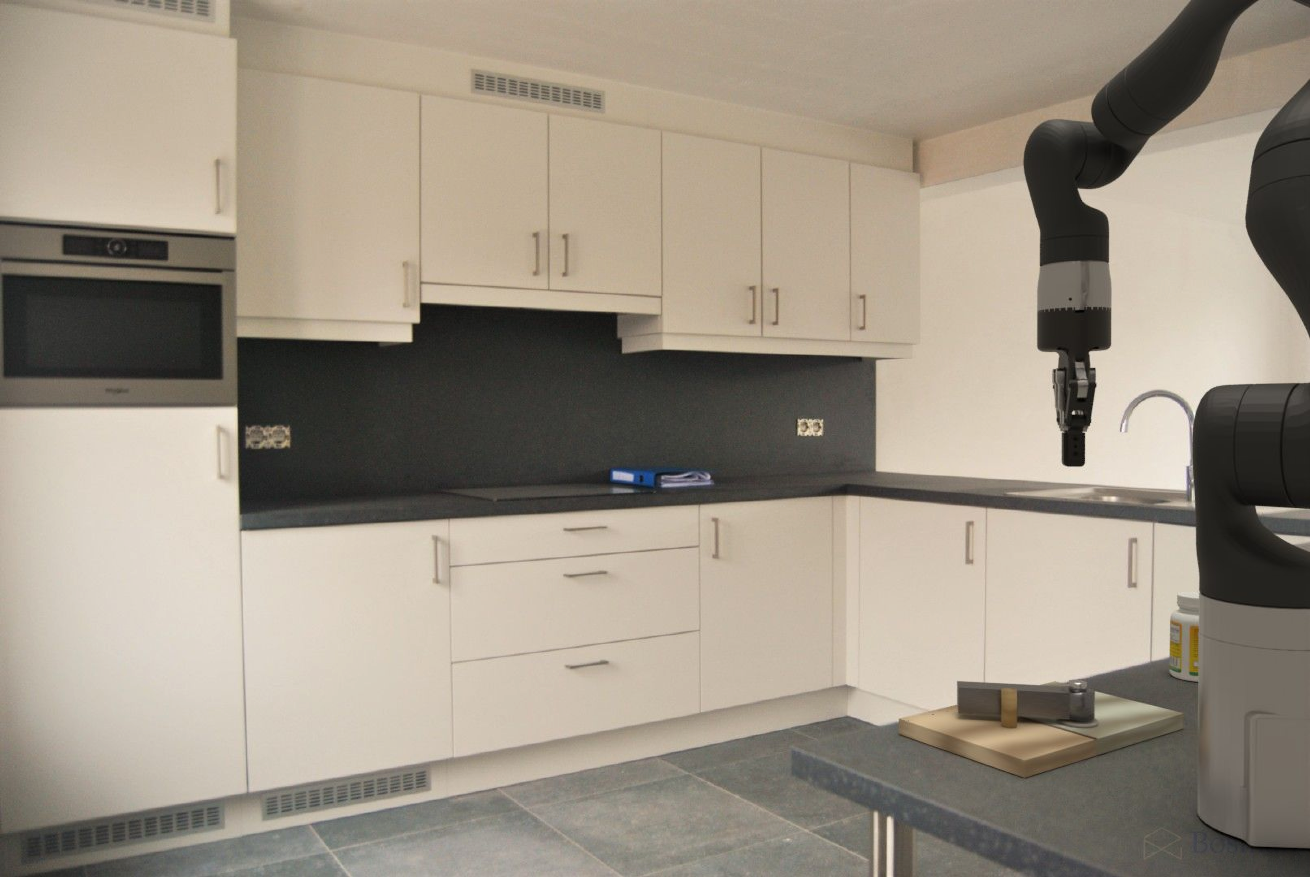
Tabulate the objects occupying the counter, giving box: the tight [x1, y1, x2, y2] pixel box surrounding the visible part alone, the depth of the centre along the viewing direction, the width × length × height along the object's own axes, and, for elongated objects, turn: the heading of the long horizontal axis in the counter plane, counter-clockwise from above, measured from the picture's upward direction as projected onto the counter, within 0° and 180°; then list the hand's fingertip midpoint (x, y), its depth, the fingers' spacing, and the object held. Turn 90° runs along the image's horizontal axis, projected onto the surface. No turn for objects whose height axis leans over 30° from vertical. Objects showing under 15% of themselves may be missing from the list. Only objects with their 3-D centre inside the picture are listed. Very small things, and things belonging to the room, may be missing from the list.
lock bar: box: [956, 679, 1096, 721], centre depth 101 cm, size 12×3×3 cm, turn 77°
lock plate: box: [898, 680, 1184, 779], centre depth 102 cm, size 14×24×5 cm, turn 123°
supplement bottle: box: [1168, 591, 1200, 683], centre depth 121 cm, size 5×5×10 cm
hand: (1073, 466), depth 115 cm, fingers closed
